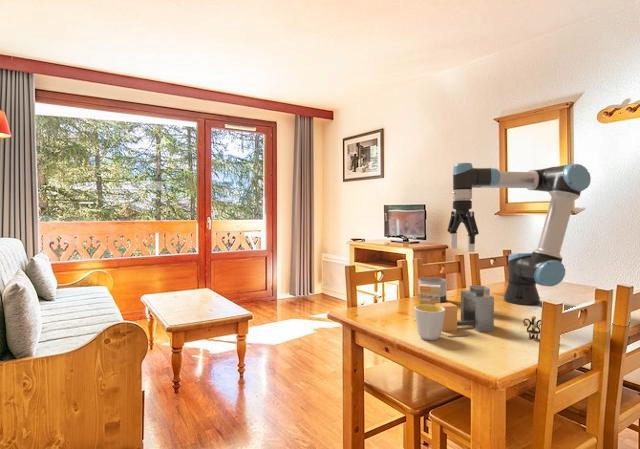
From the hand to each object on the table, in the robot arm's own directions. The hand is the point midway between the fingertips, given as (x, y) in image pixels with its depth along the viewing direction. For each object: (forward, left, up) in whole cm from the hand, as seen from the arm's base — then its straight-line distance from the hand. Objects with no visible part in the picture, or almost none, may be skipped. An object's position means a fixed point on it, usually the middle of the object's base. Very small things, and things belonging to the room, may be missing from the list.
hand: (461, 250), depth 162 cm
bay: (+18, +19, -27) cm, 37 cm away
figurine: (-6, +35, -27) cm, 45 cm away
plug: (+10, +19, -27) cm, 34 cm away
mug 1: (+27, +26, -27) cm, 46 cm away
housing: (+5, +19, -27) cm, 33 cm away
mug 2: (-8, +1, -27) cm, 28 cm away
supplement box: (+16, +3, -27) cm, 31 cm away
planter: (+3, -21, -27) cm, 34 cm away
